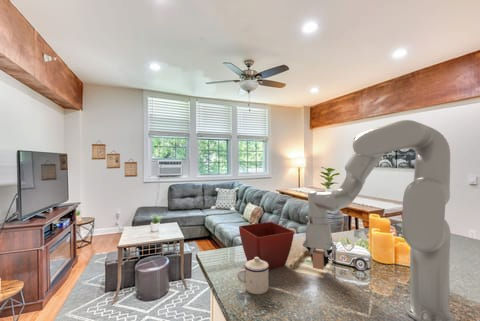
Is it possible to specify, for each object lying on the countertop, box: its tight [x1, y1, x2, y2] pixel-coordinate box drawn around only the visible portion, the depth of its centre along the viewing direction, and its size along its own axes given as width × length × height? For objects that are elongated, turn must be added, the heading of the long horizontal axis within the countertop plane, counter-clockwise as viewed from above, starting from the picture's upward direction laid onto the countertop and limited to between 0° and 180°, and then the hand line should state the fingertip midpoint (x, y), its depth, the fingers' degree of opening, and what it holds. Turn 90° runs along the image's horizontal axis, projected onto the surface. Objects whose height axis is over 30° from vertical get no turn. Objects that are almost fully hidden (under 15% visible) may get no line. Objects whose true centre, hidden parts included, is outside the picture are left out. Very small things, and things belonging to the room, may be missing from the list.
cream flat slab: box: [289, 249, 333, 279], centre depth 109 cm, size 21×14×3 cm, turn 148°
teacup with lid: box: [236, 257, 270, 295], centre depth 91 cm, size 12×9×12 cm
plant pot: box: [238, 221, 295, 271], centre depth 111 cm, size 19×19×17 cm
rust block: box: [312, 248, 325, 270], centre depth 101 cm, size 7×4×6 cm, turn 148°
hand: (320, 263), depth 101 cm, fingers closed on rust block, 4 cm apart
